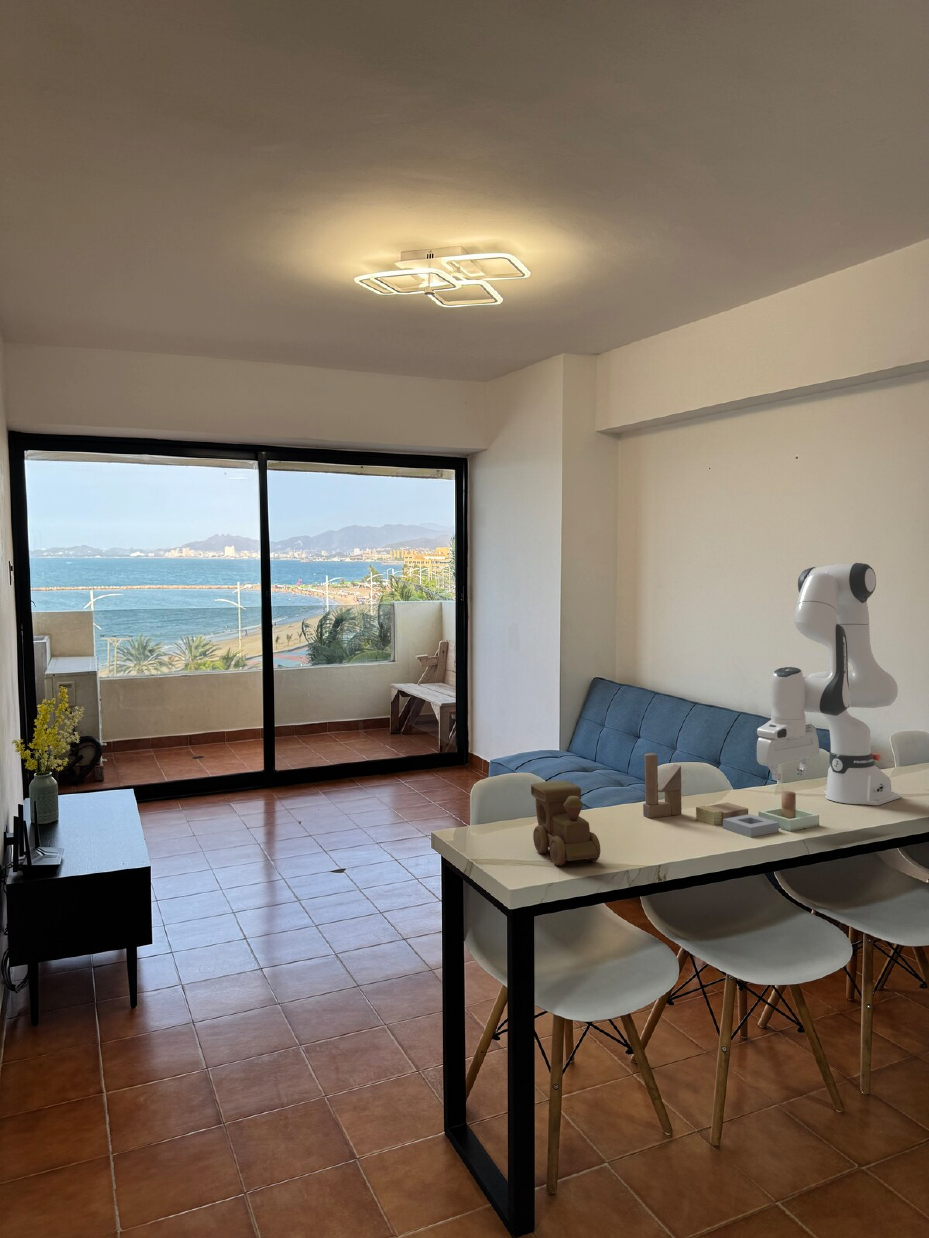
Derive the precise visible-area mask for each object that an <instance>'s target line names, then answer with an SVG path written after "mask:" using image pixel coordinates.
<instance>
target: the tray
mask: <svg viewBox="0 0 929 1238" xmlns="http://www.w3.org/2000/svg"><path fill="white" fill-rule="evenodd" d="M757 816H759V817H762V818H765V819H769V820H772V821H776V822H779V828H781V829H780V830H782V831H786V832H795V830H796V831H800V830H799V829H801V830H804V829H803V828H806V829H810V828H815V826H816V827H820V814H819V813H818V814H817V813H814V812H810V811H806V810H803V809H799V808H796V818H793V819H787V818H784V817H782V806H781V807H776V808H769V809H765V810H760V811H758V815H757Z"/></svg>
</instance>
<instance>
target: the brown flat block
mask: <svg viewBox="0 0 929 1238" xmlns="http://www.w3.org/2000/svg"><path fill="white" fill-rule="evenodd" d="M707 807H710V808H713V809H717V810H720V811H722V824H721V825H723V819H726V818H731V817H737V816H742V815H748V814H749V808H748V807H745V806H741V805H737V804H734V803H731V802H722V803H717V804H712V805H707Z"/></svg>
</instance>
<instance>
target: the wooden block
mask: <svg viewBox="0 0 929 1238" xmlns="http://www.w3.org/2000/svg"><path fill="white" fill-rule="evenodd" d="M658 769H659V768H658V754H657V753H653V752H647V753H645V754H644V781H645V782H644V786H645V787H644V791H645V792H644V793H645V795H644V796H645V803H643V804H642V808H643V809H642V811H643V812H642V815H643V816H644V817H646V818H648V819H653V818H654V819H655V818H663V817H672V816H671V815H674V816H680V814H681V815H682V765H679V764H676V763H673V765H672V766H671V767H670V769H669V770H668V771H667V772H666V774H665V775H664V776H663V778H661V780H660V781H659V776H658V775H659V774H658V773H659V771H658ZM659 793H664V801H659Z"/></svg>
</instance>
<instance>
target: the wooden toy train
mask: <svg viewBox="0 0 929 1238" xmlns="http://www.w3.org/2000/svg"><path fill="white" fill-rule="evenodd" d="M530 795H531V796H532V797H533V798H535V810H536V812H535V813H536V820H537V825H536V826H535V827H534V829H533V834H532V838H533V844H534V847H535V849H536V851H537V852H538V853H539V852H540V853H539V854H542V853H544V854H545V853H547V852H548V850H549V854H550V859H551V860H552V863H554V865H555V864H556V865H555V866H558V865H559V867H561V866H563V865H565V863H566V861H567V862H571V861H579V860H587V859H588V861H590V862H592V861H595V862H597V861H598V860H599V858H600V856H601V844H600V840H599V838H598V835H596V833H594V832H592V831H591V828H590V822H589V821H587V820H586V819H585V818H583V817H582V816H580V814H581V811H582V809H583V806H584V803H583V802H582V788H581V787H579V786H578V785H576V784H574V783H572V782H570V781H567V780H552V781H542V782H535V783H530Z"/></svg>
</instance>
